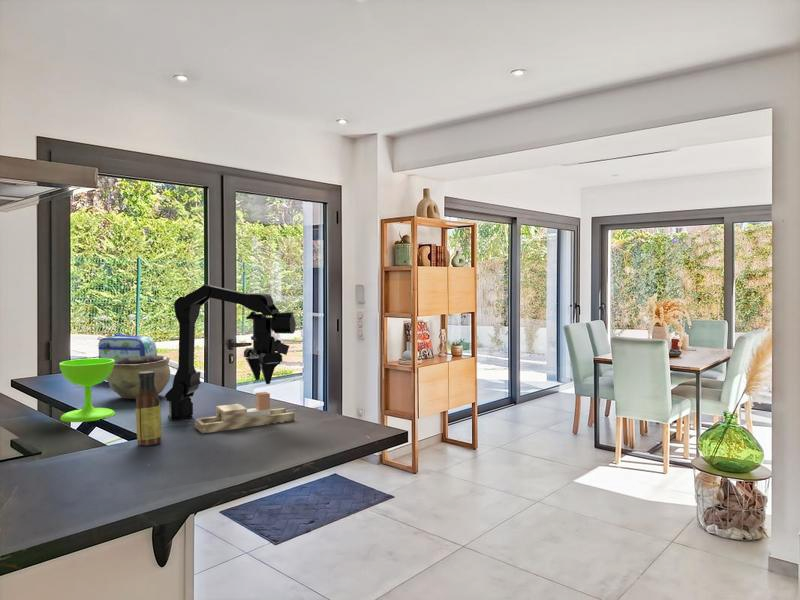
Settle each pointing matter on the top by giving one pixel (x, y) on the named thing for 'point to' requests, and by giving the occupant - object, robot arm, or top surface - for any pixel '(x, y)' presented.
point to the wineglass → (87, 386)
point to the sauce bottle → (148, 411)
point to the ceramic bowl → (127, 374)
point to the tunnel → (239, 418)
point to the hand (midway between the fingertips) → (262, 381)
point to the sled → (259, 406)
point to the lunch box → (126, 347)
